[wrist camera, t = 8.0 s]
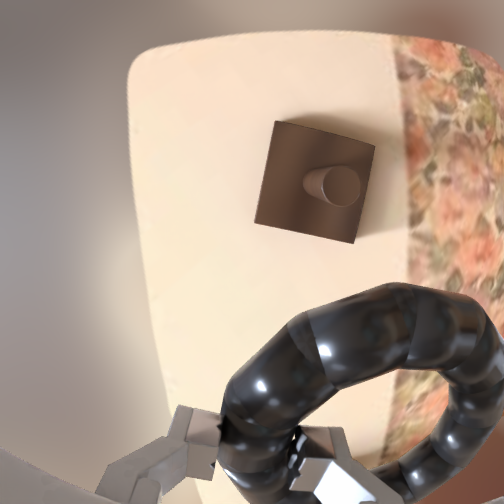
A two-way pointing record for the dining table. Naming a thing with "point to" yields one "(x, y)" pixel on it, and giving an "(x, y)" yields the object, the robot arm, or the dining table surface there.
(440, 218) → the dining table surface
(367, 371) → the ring
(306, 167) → the peg stand
